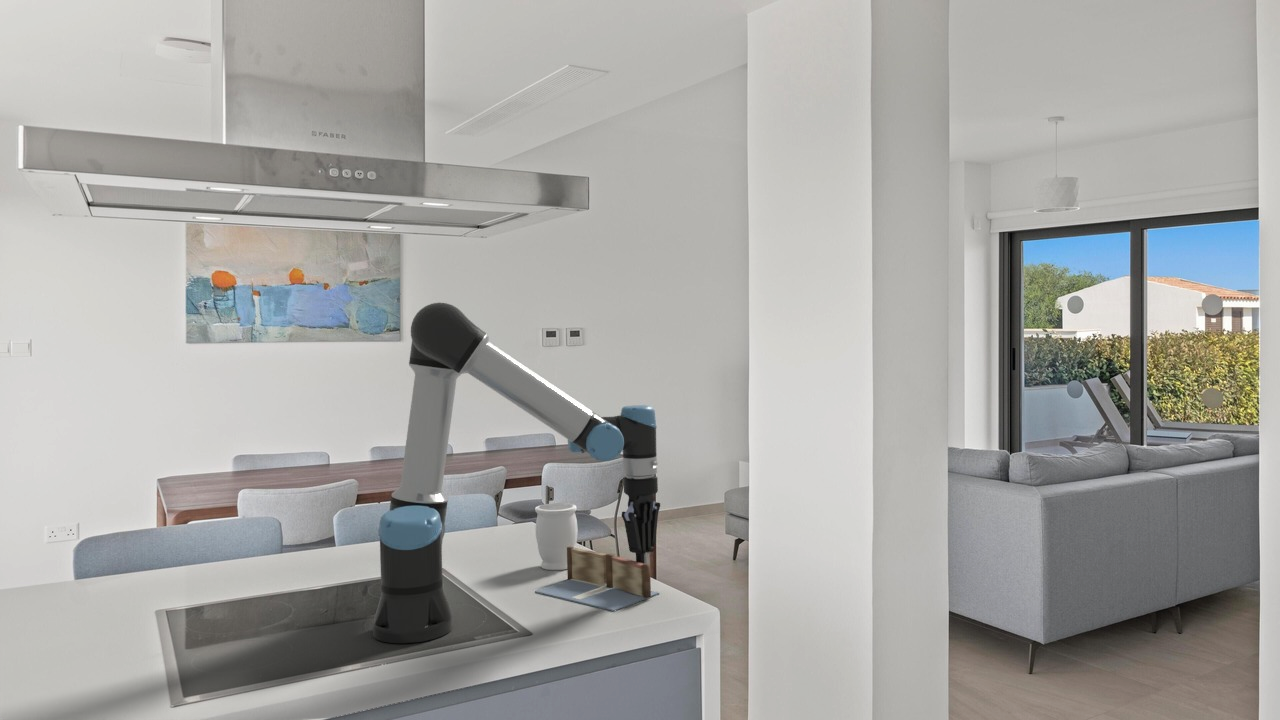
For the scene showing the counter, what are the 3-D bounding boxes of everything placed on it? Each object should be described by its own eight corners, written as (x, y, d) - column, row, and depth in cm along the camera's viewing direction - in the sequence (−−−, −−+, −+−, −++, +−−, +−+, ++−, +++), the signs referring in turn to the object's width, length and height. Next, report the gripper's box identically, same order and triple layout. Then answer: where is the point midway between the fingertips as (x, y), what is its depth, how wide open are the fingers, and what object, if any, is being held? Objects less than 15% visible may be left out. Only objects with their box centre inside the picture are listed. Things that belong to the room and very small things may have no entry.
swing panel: (612, 587, 195) (611, 556, 195) (617, 585, 196) (616, 555, 196) (646, 598, 186) (646, 566, 186) (652, 596, 187) (651, 564, 187)
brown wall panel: (565, 579, 205) (564, 547, 204) (571, 577, 206) (570, 546, 206) (611, 589, 196) (610, 556, 195) (617, 587, 197) (616, 554, 197)
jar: (572, 572, 211) (571, 510, 210) (531, 571, 212) (529, 510, 212) (582, 561, 221) (581, 502, 221) (543, 560, 223) (541, 502, 222)
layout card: (535, 592, 195) (535, 590, 195) (581, 577, 206) (581, 575, 206) (614, 611, 180) (614, 609, 180) (659, 594, 191) (659, 592, 191)
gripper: (639, 481, 185) (643, 591, 186) (669, 472, 196) (672, 576, 197) (610, 479, 189) (613, 587, 190) (640, 470, 200) (643, 572, 201)
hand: (643, 581), depth 193 cm, fingers closed
